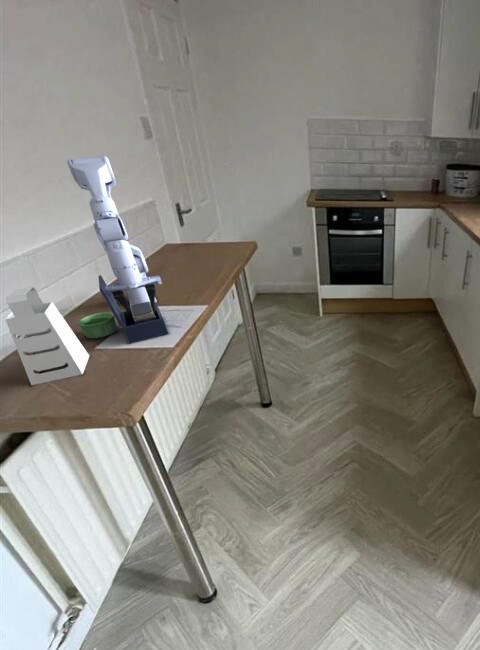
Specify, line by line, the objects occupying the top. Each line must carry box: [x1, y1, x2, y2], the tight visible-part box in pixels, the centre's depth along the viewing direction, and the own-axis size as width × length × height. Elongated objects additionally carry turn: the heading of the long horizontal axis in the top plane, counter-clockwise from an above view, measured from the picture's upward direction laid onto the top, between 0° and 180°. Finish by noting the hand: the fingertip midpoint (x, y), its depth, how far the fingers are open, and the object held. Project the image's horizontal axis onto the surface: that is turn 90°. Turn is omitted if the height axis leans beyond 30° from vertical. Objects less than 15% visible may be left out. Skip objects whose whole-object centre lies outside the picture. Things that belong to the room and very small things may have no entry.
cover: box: [98, 274, 124, 328], centre depth 114 cm, size 11×14×1 cm
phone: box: [129, 302, 156, 324], centre depth 119 cm, size 10×5×3 cm, turn 31°
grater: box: [4, 286, 90, 386], centre depth 98 cm, size 10×10×20 cm
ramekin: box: [77, 312, 118, 339], centre depth 120 cm, size 9×9×4 cm
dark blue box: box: [121, 303, 169, 344], centre depth 120 cm, size 10×14×5 cm
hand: (143, 313), depth 119 cm, fingers closed on phone, 5 cm apart
